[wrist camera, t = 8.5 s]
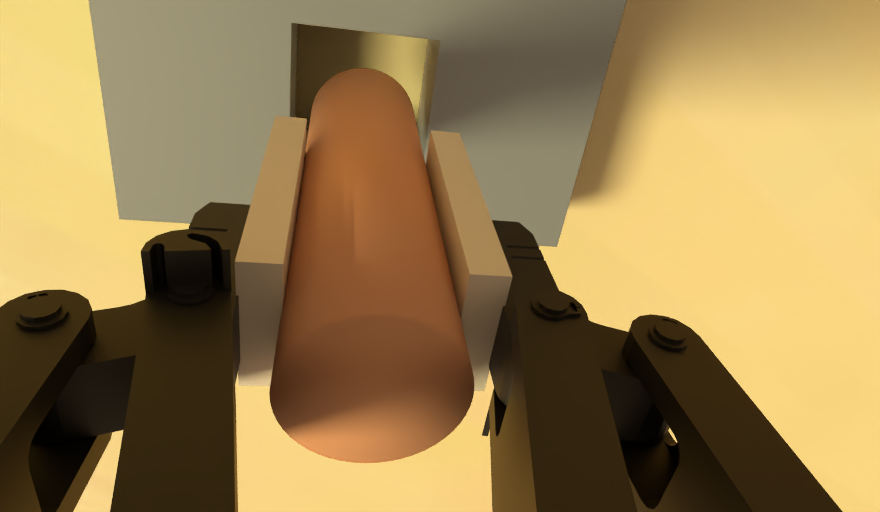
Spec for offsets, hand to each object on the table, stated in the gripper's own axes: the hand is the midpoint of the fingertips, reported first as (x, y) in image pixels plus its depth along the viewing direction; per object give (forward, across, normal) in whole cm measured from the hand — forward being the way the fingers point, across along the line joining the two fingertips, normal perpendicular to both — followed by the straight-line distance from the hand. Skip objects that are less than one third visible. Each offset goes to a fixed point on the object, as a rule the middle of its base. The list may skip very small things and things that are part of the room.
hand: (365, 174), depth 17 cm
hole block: (+8, 0, 0) cm, 8 cm away
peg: (+4, 0, 0) cm, 4 cm away
